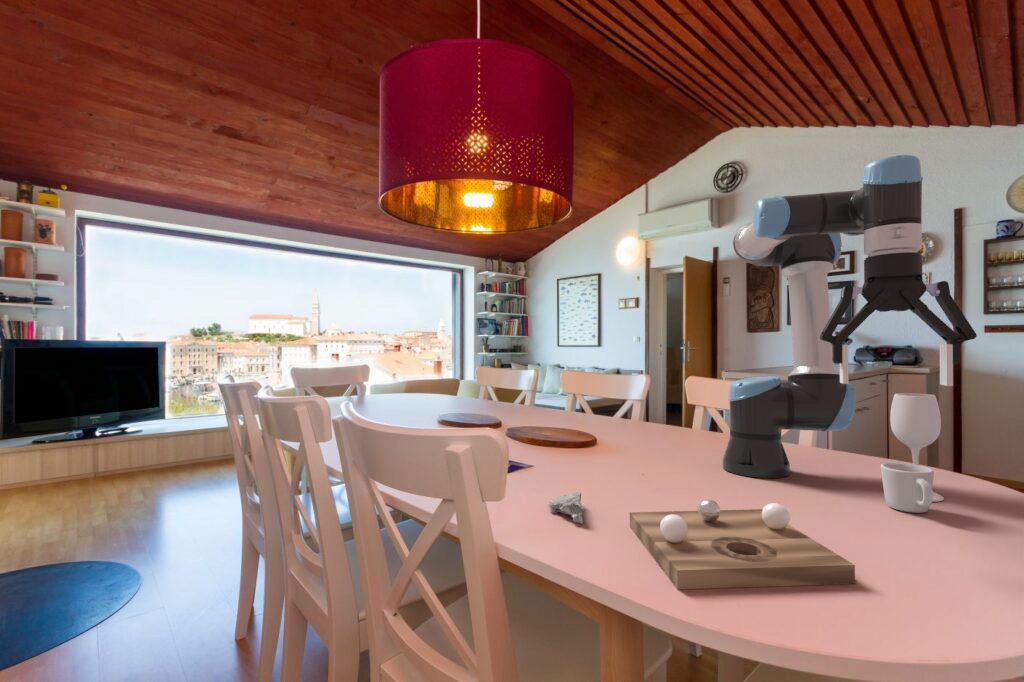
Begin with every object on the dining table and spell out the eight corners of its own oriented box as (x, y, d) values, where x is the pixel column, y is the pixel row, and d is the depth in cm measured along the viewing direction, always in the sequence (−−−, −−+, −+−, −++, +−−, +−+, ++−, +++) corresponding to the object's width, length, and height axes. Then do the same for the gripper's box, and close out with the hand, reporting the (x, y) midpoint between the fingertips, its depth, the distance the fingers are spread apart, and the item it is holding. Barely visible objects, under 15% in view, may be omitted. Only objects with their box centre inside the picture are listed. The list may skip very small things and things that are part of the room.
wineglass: (893, 486, 108) (891, 391, 108) (945, 495, 102) (944, 394, 102) (886, 495, 102) (884, 394, 102) (941, 505, 96) (940, 397, 96)
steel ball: (694, 517, 83) (694, 496, 83) (714, 517, 83) (714, 496, 83) (703, 525, 80) (703, 503, 80) (724, 524, 80) (724, 503, 80)
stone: (549, 527, 87) (549, 504, 87) (548, 502, 99) (548, 482, 99) (585, 528, 87) (586, 505, 87) (580, 503, 99) (580, 483, 99)
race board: (629, 526, 86) (629, 512, 86) (763, 523, 87) (762, 509, 87) (677, 589, 64) (677, 570, 64) (855, 583, 65) (854, 564, 65)
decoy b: (656, 536, 75) (656, 510, 75) (682, 536, 75) (681, 510, 75) (665, 547, 71) (665, 520, 71) (692, 547, 71) (692, 519, 71)
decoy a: (756, 524, 80) (756, 499, 80) (780, 523, 80) (780, 499, 80) (770, 533, 76) (770, 508, 76) (795, 533, 76) (795, 507, 76)
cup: (955, 523, 86) (955, 477, 86) (904, 520, 88) (903, 475, 88) (918, 503, 97) (917, 463, 97) (872, 501, 98) (872, 461, 98)
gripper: (807, 257, 82) (808, 384, 82) (1004, 243, 71) (1006, 388, 72) (801, 263, 88) (802, 380, 88) (980, 251, 78) (981, 384, 78)
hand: (893, 384), depth 80 cm, fingers open, 13 cm apart
